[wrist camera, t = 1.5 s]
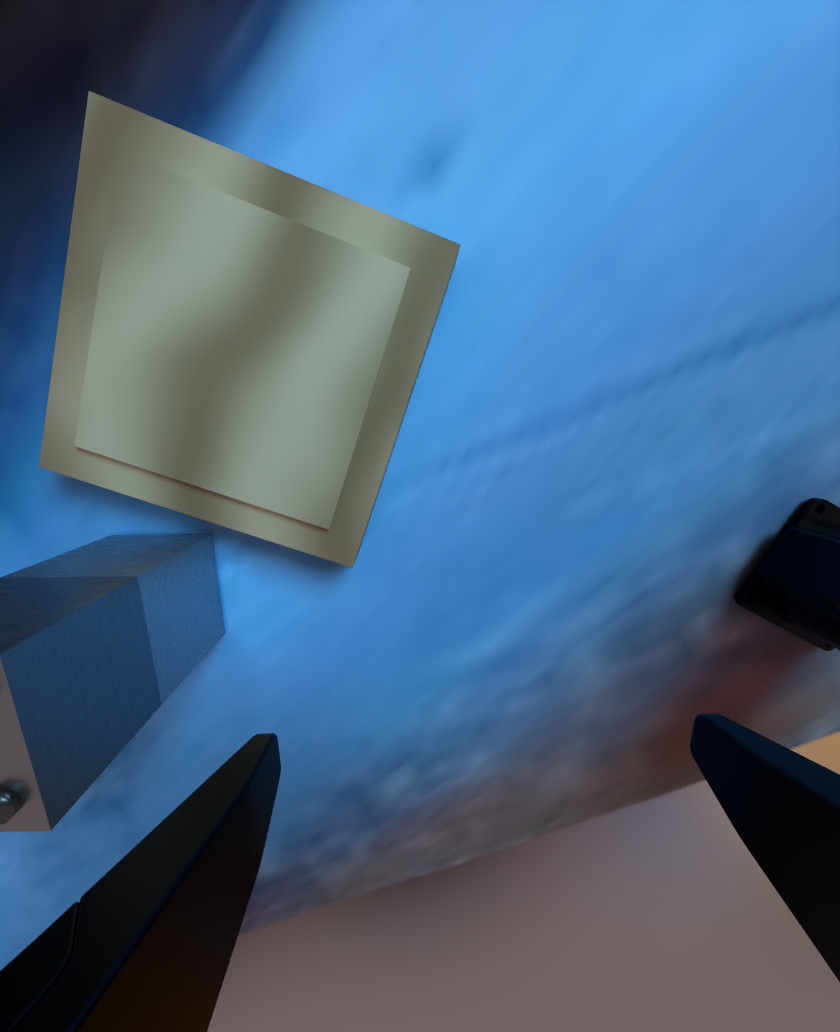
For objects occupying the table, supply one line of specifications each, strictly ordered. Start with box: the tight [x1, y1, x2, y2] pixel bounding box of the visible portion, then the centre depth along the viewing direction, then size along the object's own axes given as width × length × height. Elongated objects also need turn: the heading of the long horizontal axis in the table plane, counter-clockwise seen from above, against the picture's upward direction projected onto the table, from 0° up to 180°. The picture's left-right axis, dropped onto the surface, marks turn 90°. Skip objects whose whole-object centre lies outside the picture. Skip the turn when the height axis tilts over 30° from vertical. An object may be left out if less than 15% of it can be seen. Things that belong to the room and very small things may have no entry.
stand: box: [39, 91, 460, 568], centre depth 17 cm, size 14×14×2 cm
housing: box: [0, 534, 225, 832], centre depth 15 cm, size 5×6×11 cm
